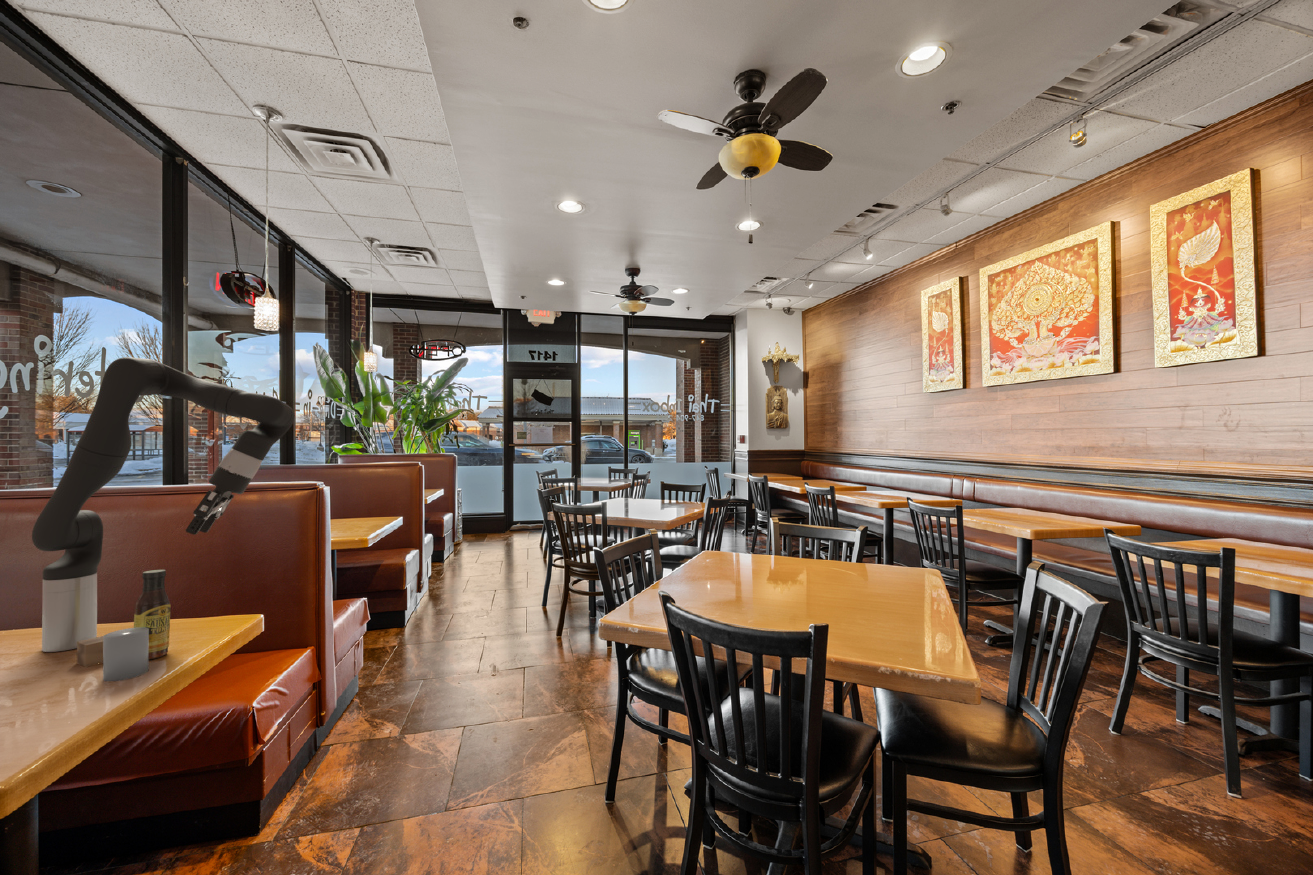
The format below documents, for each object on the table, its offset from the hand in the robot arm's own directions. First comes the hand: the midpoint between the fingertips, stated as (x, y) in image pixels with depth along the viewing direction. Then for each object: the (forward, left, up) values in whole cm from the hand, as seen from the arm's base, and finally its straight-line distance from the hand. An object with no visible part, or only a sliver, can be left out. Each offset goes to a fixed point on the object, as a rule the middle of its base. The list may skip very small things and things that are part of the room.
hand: (196, 532), depth 129 cm
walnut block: (-14, -13, -29) cm, 35 cm away
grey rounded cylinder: (+2, -13, -29) cm, 31 cm away
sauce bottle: (-6, -6, -29) cm, 30 cm away
